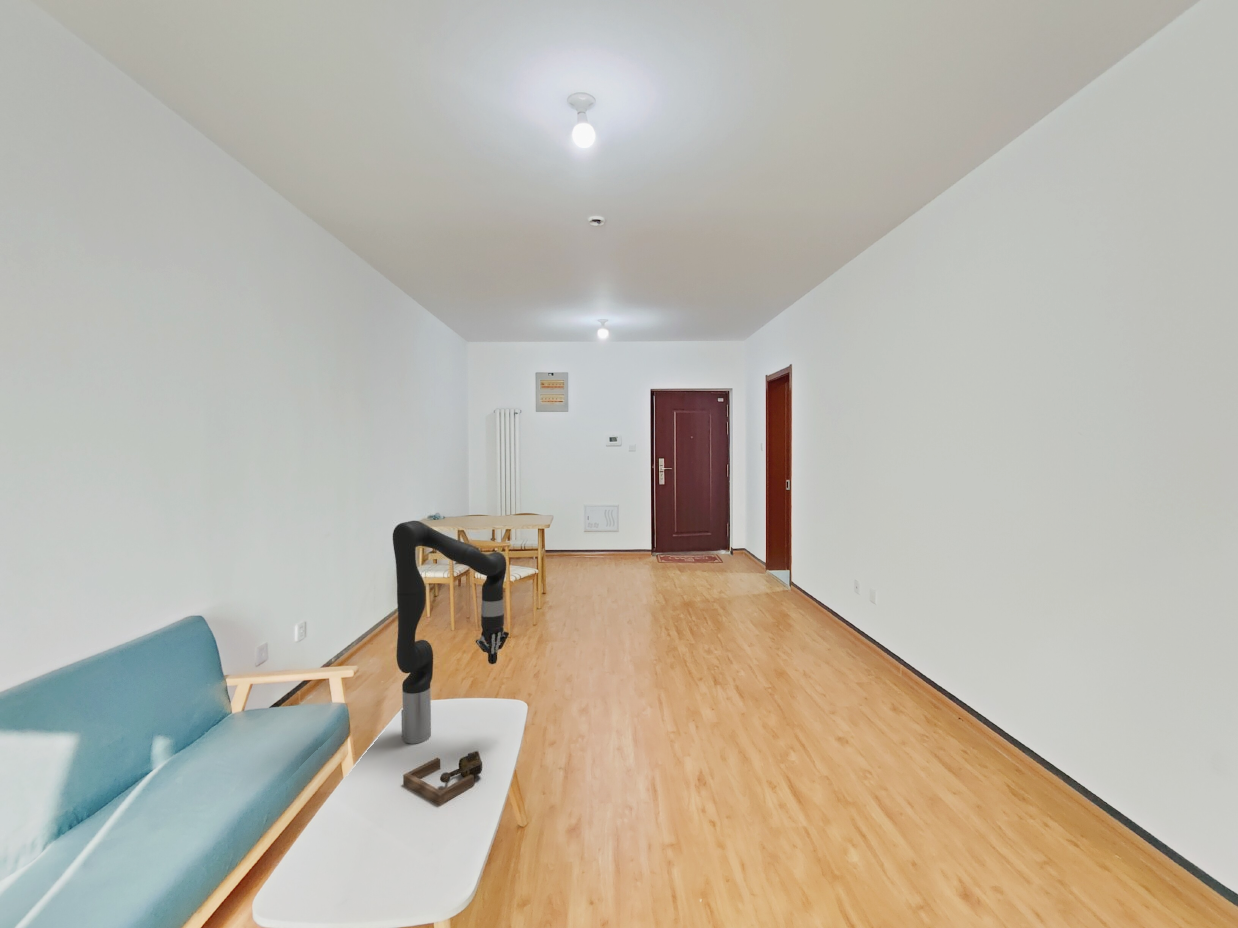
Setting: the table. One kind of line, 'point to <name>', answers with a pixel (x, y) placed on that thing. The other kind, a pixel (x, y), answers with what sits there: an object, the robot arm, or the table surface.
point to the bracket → (431, 792)
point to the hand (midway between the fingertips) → (492, 663)
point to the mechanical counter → (465, 767)
